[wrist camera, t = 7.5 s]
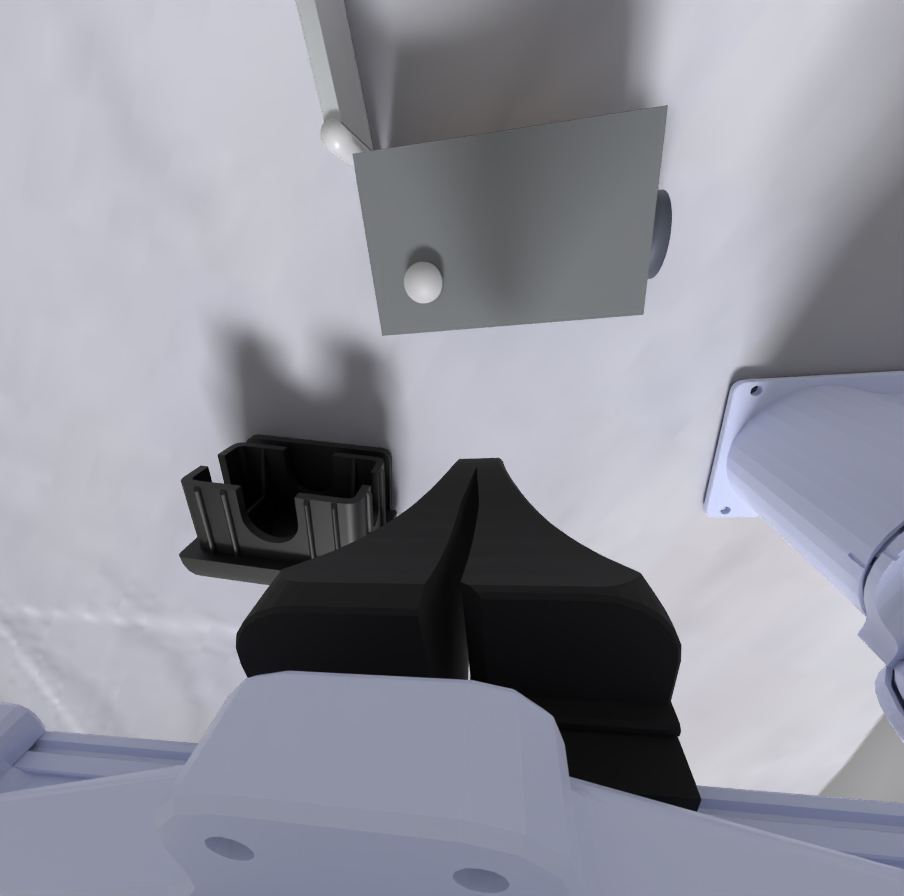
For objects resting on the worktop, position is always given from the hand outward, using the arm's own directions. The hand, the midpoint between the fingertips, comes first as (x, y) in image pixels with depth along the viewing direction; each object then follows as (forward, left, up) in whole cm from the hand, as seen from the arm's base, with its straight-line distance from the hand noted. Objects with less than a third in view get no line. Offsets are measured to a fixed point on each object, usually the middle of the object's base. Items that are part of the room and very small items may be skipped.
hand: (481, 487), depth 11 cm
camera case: (-1, -7, -10) cm, 12 cm away
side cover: (+5, -14, -10) cm, 18 cm away
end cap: (+11, +6, -10) cm, 16 cm away
